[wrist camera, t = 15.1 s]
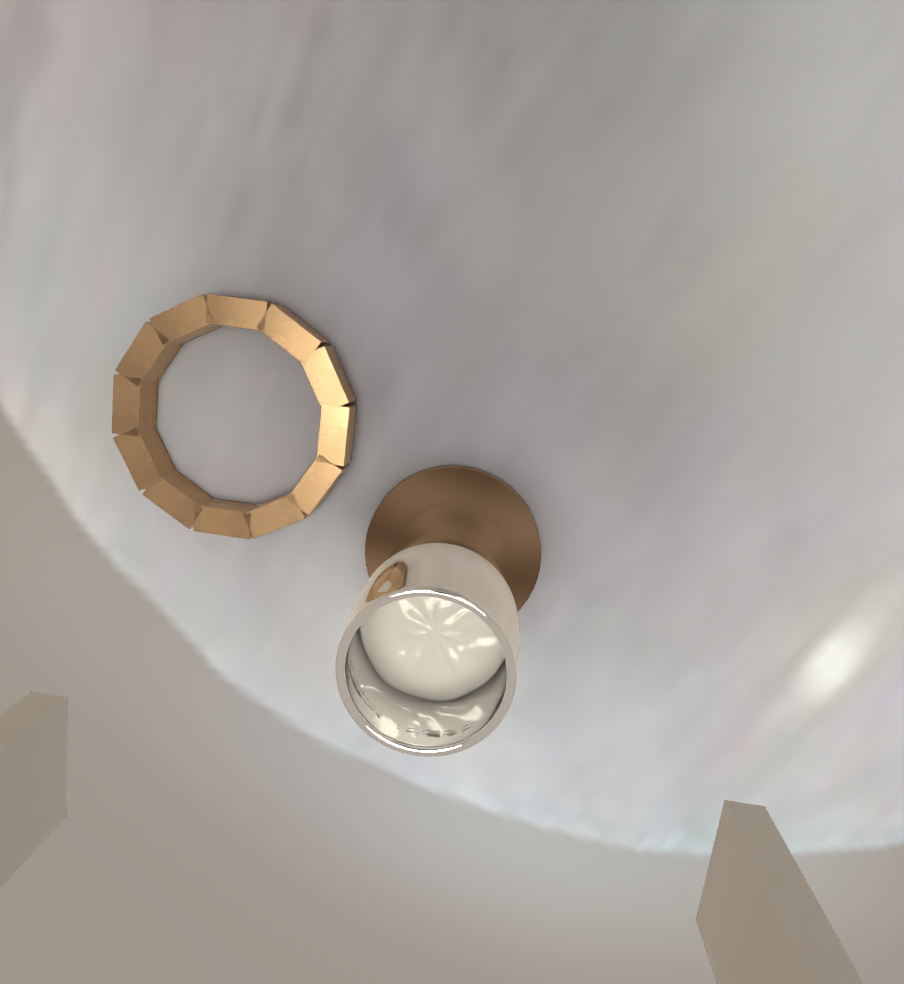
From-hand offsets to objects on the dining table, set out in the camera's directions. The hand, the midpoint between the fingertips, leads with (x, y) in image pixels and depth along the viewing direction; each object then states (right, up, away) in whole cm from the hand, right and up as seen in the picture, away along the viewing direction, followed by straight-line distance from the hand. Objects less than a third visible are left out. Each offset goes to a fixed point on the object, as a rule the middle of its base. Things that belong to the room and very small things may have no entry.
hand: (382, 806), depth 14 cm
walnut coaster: (+1, +3, +27) cm, 27 cm away
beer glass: (+1, +3, +26) cm, 26 cm away
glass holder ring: (-11, +11, +26) cm, 30 cm away
